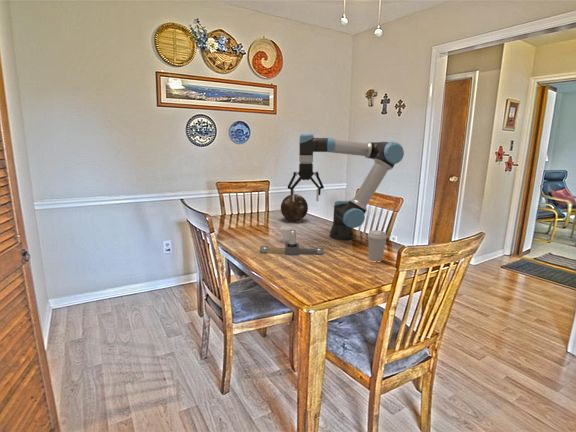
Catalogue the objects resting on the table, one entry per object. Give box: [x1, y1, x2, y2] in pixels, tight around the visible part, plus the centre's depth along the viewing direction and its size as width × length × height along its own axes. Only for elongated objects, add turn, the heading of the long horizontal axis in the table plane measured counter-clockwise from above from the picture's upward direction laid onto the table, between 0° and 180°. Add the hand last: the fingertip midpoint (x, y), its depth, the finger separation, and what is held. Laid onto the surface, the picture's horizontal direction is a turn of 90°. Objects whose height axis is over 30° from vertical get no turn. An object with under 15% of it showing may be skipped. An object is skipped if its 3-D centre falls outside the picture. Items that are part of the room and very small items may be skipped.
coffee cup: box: [367, 229, 388, 262], centre depth 170 cm, size 10×10×15 cm
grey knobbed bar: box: [259, 242, 325, 256], centre depth 179 cm, size 34×7×4 cm, turn 91°
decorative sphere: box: [280, 193, 309, 222], centre depth 246 cm, size 20×20×20 cm
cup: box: [274, 226, 293, 243], centre depth 198 cm, size 7×10×8 cm
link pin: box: [288, 229, 297, 247], centre depth 178 cm, size 4×4×12 cm
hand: (305, 201), depth 189 cm, fingers open, 13 cm apart
